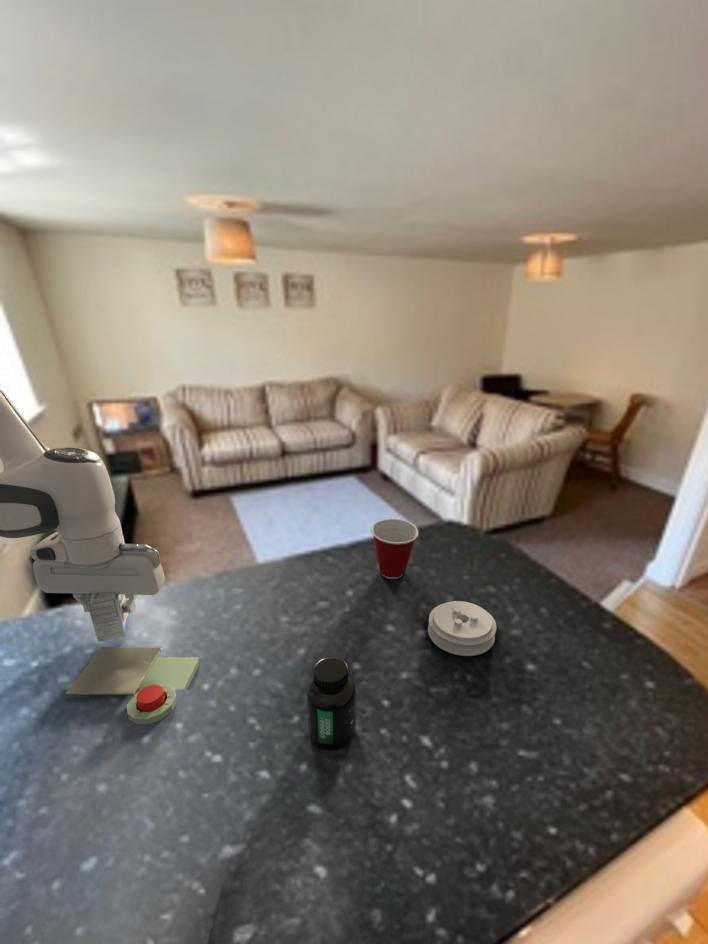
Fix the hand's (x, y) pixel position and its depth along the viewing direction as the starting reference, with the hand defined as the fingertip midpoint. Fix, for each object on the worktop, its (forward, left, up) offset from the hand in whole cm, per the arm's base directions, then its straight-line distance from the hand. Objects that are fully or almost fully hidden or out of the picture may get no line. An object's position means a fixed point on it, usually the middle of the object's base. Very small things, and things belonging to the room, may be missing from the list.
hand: (110, 610), depth 81 cm
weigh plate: (+7, -12, -3) cm, 14 cm away
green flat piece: (+10, -14, -6) cm, 18 cm away
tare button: (+15, -18, -3) cm, 23 cm away
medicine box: (0, 0, -4) cm, 4 cm away
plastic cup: (+53, +22, -6) cm, 57 cm away
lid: (+65, 0, -6) cm, 65 cm away
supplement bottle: (+42, -21, -6) cm, 47 cm away
